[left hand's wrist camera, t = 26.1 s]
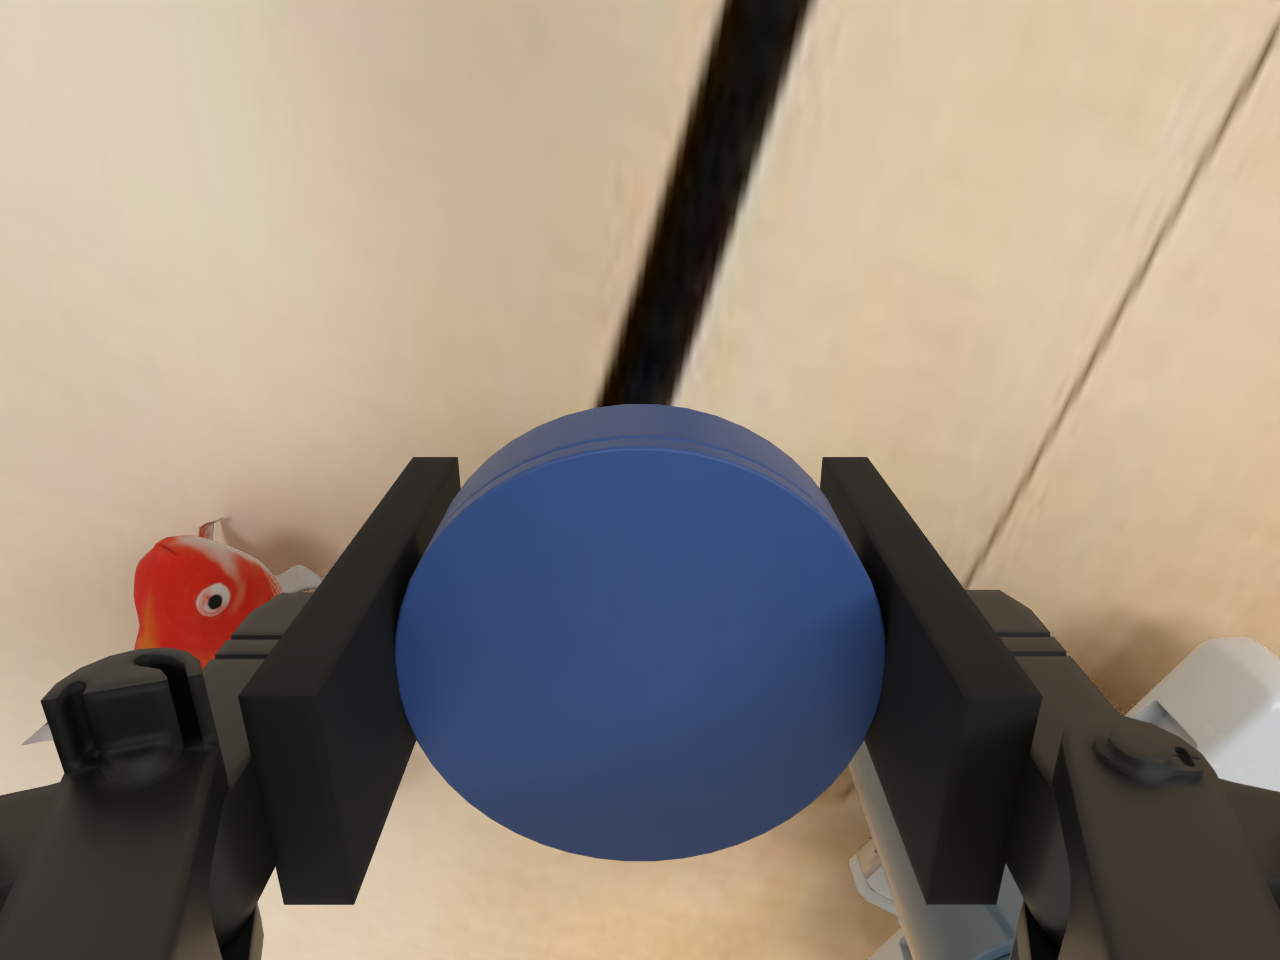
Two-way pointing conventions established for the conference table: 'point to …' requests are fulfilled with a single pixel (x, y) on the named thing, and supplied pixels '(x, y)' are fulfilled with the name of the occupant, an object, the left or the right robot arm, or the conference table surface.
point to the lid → (640, 636)
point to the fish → (200, 595)
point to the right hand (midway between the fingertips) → (927, 798)
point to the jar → (936, 934)
